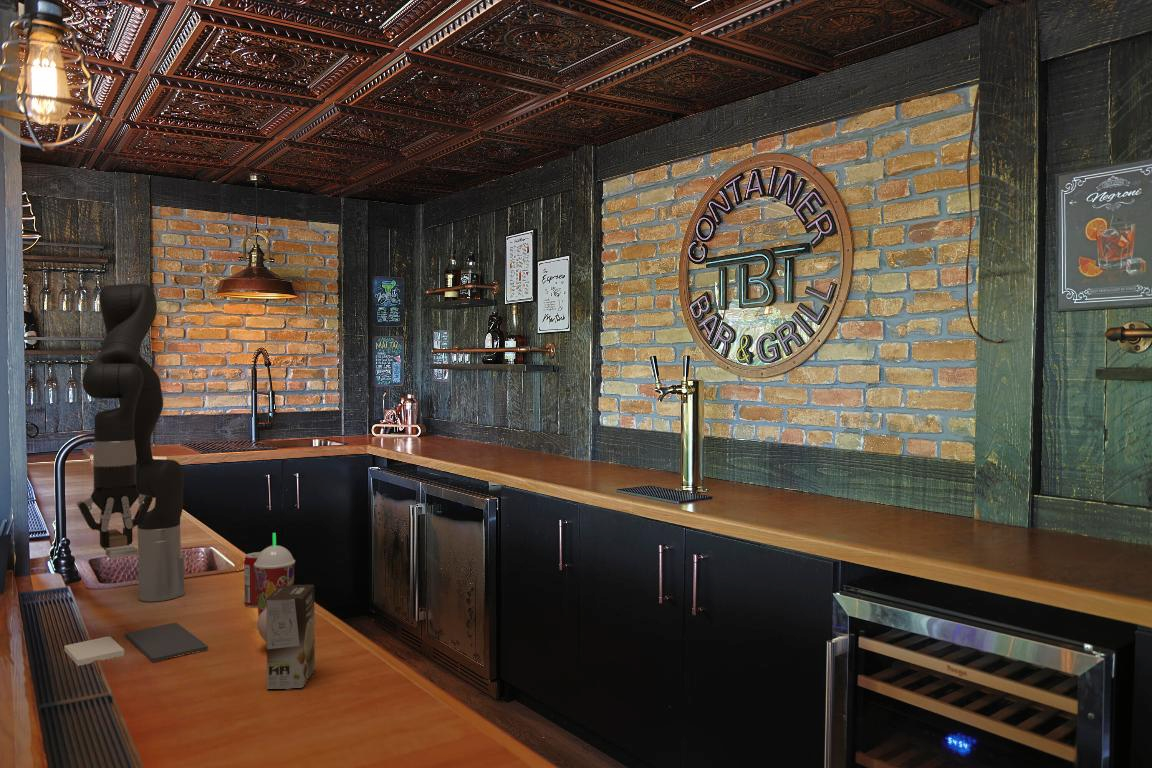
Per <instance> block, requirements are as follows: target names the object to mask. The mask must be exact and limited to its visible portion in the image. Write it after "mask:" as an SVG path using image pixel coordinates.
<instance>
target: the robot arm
mask: <svg viewBox="0 0 1152 768" xmlns="http://www.w3.org/2000/svg"><path fill="white" fill-rule="evenodd" d="M99 292H100V293H99V305H100V310H101V315H102V319H103V323H104V324H103V325H104V327H105V331H106V335H105V337H104V340H103V342H102V346H101V349H100V353H98V354H97V356H96V357H95V358H93V360H92V361H90V363H89V364H88V366H87V367H86V369H85V370H84V372H83V376H82V388H83V390H84V392H85V393H86V394H87V395H88V396H89V397H91V398H93V399H96V400H98V399H99V400H100V399H101V400H102V399H104V400H106V399H117V400H118V405H119V406H118V407H116V408H112V409H107V410H102V411H99V412H97V413H95V416H94V420H93V423H94V425H93V427H94V428H93V429H94V445H93V452H92V453H93V456H92V457H93V459H92V460H93V492H92V494H91V495H90V497H89V498H87V499H85V500H83V501H81V500H80V501H78V502H77V504H76V506H77V508H78V510H79V511H80V513H81V515H82V516H83V519H84V521H85V523H86V524H87V526H88V528H90V529H91V530H93V531H98V532H99V546H100V547H101V548H102V549H103V550H104V551H106V548H109V531H108V530H109V525H110V520H111V516H112V514H113V515H114V514H115V513H119V514H120V516H121V519H122V524H123V528H122V534H124V535H125V536H127V546H128V545H132V544H133V542H134V541H133V529H134V527H136V526H137V549H138V555H137V556H138V558H137V561H138V600H139V601H142V602H152V603H153V602H162V601H168V600H172V599H176V598H178V597H182V596H184V595H185V560H184V559H185V558H184V555H182V552H181V551H182V549H181V548H182V544H181V543H182V542H181V541H182V540H181V537H182V536H181V517H182V515H183V514H182V513H183V509H184V487H185V485H184V484H185V483H184V482H185V481H184V480H185V478H184V470H183V468H182V465H181V464H180V462H179V461H177V460H176V459H175V460H173V459H165V458H164V459H163V458H162V459H159V458H158V459H155V458H154V456H153V452H152V442H151V441H152V436H153V435H152V434H153V431H154V429H155V427H156V424H157V423H158V421H159V418H160V417H161V415H162V414H161V413H162V412H163V407H164V398H163V391H162V387H161V386H162V385H161V379H160V377H159V375H158V373H157V372H156V371H155V369H154V368H153V367H152V366H151V365H150V363H148V361H146V359H144V358H143V356H141V354H140V351H141V347H142V344H143V341H144V339H145V338H146V336H147V334H148V333H149V331H150V329H151V327H152V326H153V324H154V321H155V319H156V315H157V308H158V306H157V305H158V304H157V298H156V295H155V291H154V290H153V288H152V286H150V285H149V284H146V283H128V284H127V283H124V284H111V285H104V286H103V287H102V288H100V291H99ZM153 499H155V501H154V502H155V503H154V506H153V508H152V509H151V510H149V508H150V506H151V504H152V503H153ZM137 500H138V501H137ZM136 501H137V503H138V504H139V506H138V509H137V511H136V513H135V515H134V517H133V518H132V513H131V508H132V506H133V505H134V504H135V503H136ZM93 504H95V506H97V508H98V509H99V510H100V513H99V523H98V522H96V520H95V518H94V516H93V514H92V513H91V510H92V509H93Z"/></svg>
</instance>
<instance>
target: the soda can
mask: <svg viewBox="0 0 1152 768" xmlns="http://www.w3.org/2000/svg"><path fill="white" fill-rule="evenodd" d="M261 552H262V551H257V552H256V551H255V552H251V553H250V552H249V553H247V554H245V558H244V563H243V568H244V569H243V570H244V571H243V572H244V578H243V579H244V580H243V581H244V604H245V605H246V607H248V606H250V607H249V608H258V606H257V594H256V581H255V568H254V563H255V562H256V560H257V558H258V555H259V554H260V553H261Z"/></svg>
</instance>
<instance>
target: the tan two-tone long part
mask: <svg viewBox="0 0 1152 768" xmlns="http://www.w3.org/2000/svg"><path fill="white" fill-rule="evenodd" d="M108 531H109V548H106V550H105V555H106V556H107V557H109V558H110V559H111V560H113V559H114V560H115V559H120V558H128V557H129V558H130V557H134V556H138V547H137V548H136V547H135V546H134V545H132V544H129V545H128V546H127V536H125V535H124V534H123V532H121V531H119V530H118V529H117V528H116V529H115V528H114V529H108Z"/></svg>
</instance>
